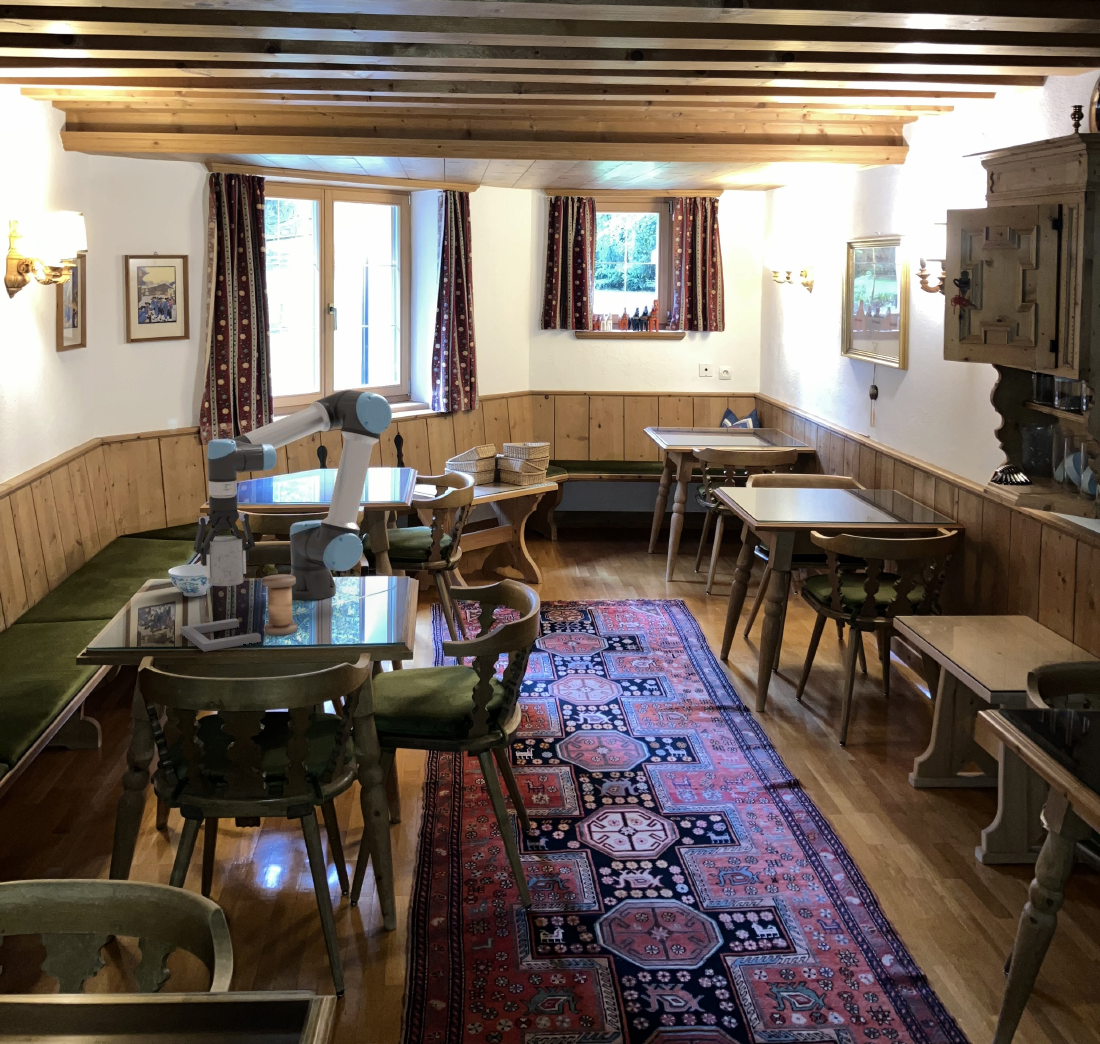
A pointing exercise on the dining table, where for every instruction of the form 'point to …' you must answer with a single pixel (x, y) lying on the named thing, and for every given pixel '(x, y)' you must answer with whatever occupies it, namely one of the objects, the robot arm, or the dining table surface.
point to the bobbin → (279, 604)
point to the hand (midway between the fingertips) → (225, 574)
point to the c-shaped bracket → (207, 645)
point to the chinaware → (189, 579)
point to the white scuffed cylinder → (225, 561)
